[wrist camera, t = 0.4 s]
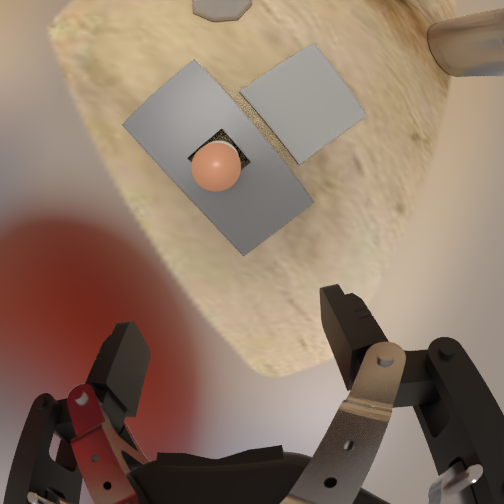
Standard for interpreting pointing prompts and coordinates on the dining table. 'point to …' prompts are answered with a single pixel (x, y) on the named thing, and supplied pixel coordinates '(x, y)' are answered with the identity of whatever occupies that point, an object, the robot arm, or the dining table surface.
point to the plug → (216, 165)
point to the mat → (304, 102)
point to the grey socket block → (196, 135)
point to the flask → (220, 9)
